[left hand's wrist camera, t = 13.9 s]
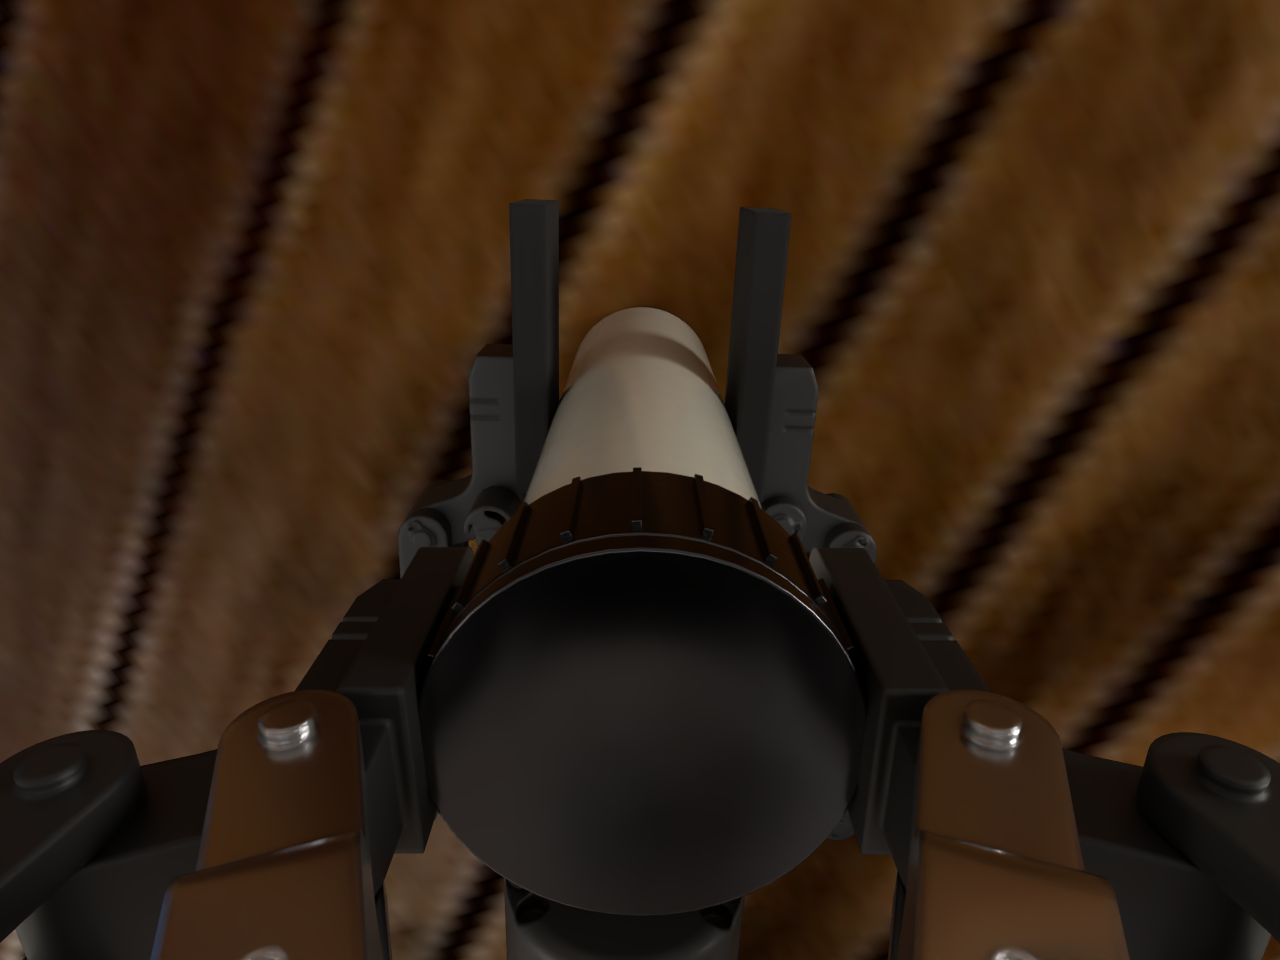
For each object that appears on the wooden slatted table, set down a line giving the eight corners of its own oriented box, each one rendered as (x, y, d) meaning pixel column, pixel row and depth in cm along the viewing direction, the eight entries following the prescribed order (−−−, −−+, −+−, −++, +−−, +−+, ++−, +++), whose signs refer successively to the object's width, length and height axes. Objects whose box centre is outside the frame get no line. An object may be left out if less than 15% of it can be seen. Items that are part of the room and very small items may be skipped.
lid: (756, 401, 10) (788, 465, 8) (877, 723, 11) (931, 847, 9) (384, 548, 10) (319, 644, 8) (551, 829, 12) (533, 967, 10)
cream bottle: (679, 284, 24) (754, 502, 8) (728, 410, 26) (873, 804, 10) (551, 339, 25) (387, 640, 9) (606, 459, 26) (552, 904, 10)
